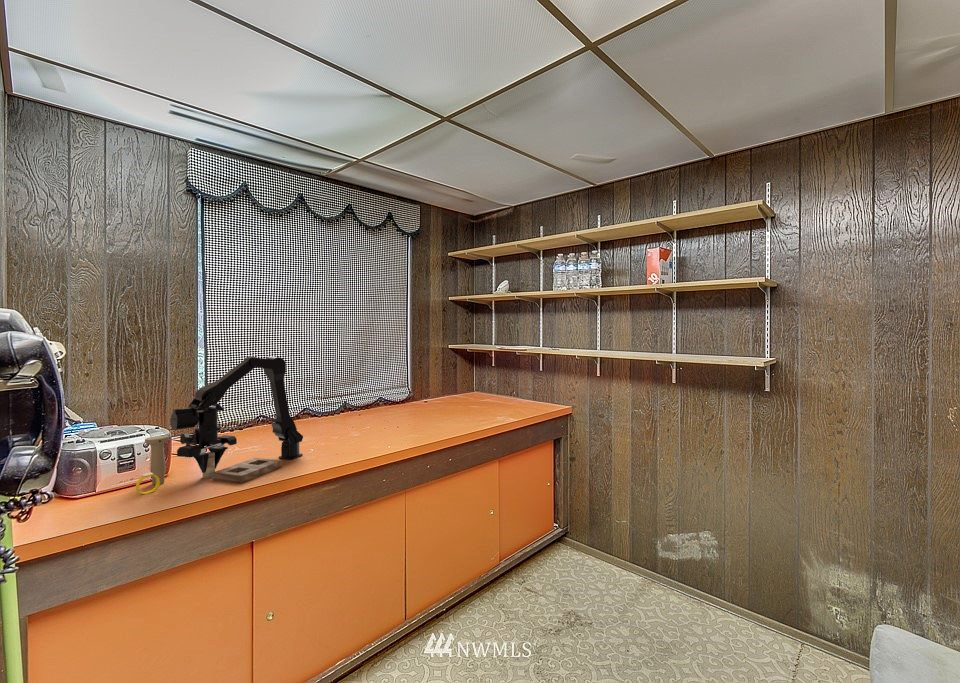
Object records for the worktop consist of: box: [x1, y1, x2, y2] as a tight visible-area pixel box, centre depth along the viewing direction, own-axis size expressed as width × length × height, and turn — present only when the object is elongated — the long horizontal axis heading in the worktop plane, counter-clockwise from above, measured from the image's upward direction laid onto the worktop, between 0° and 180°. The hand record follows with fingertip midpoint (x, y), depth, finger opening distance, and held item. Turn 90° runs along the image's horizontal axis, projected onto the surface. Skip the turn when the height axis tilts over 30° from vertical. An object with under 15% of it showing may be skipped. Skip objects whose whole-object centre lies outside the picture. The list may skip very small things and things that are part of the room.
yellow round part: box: [135, 472, 161, 495], centre depth 139 cm, size 6×3×6 cm, turn 151°
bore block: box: [212, 457, 283, 484], centre depth 158 cm, size 18×12×2 cm, turn 163°
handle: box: [144, 434, 170, 486], centre depth 147 cm, size 5×6×15 cm
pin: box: [202, 451, 216, 479], centre depth 154 cm, size 4×4×8 cm
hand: (208, 470), depth 154 cm, fingers closed on pin, 4 cm apart
